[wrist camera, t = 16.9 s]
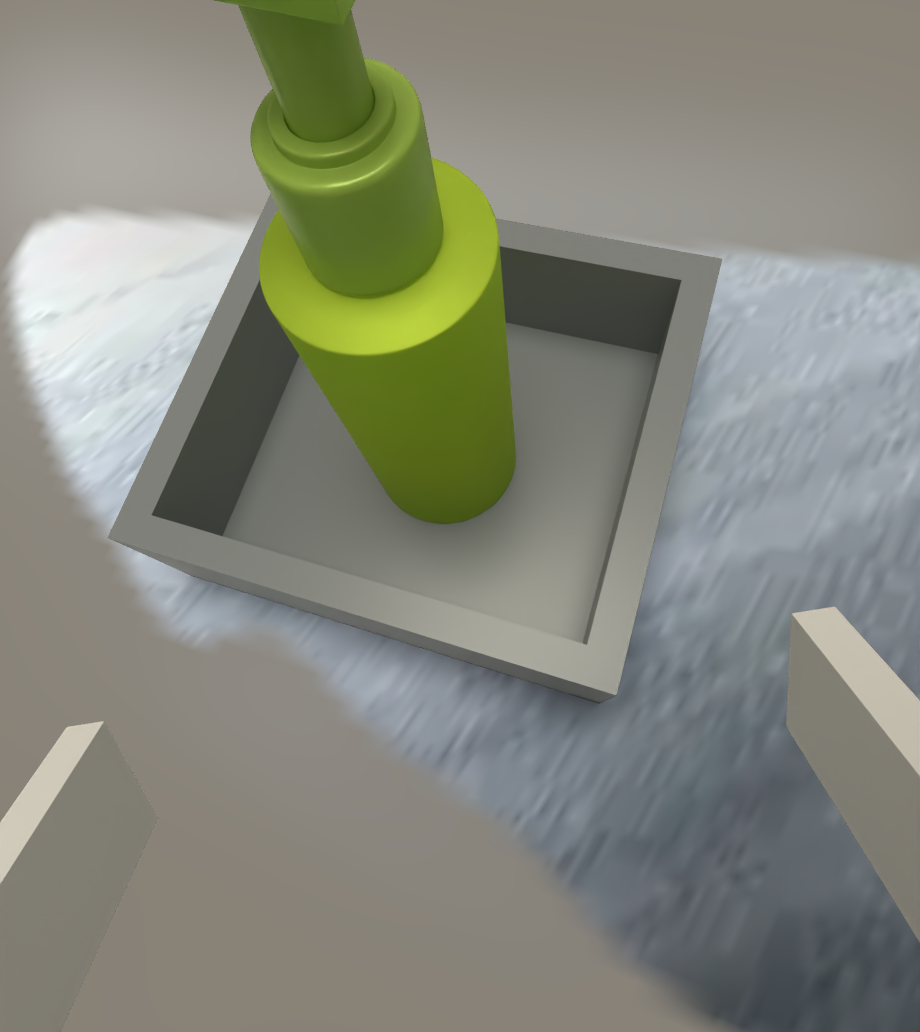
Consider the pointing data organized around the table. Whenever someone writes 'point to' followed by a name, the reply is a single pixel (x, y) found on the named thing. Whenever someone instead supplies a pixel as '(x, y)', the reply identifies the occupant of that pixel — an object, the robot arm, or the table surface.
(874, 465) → the table surface
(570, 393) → the crate
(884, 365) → the table surface
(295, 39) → the soap dispenser
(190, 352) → the table surface
